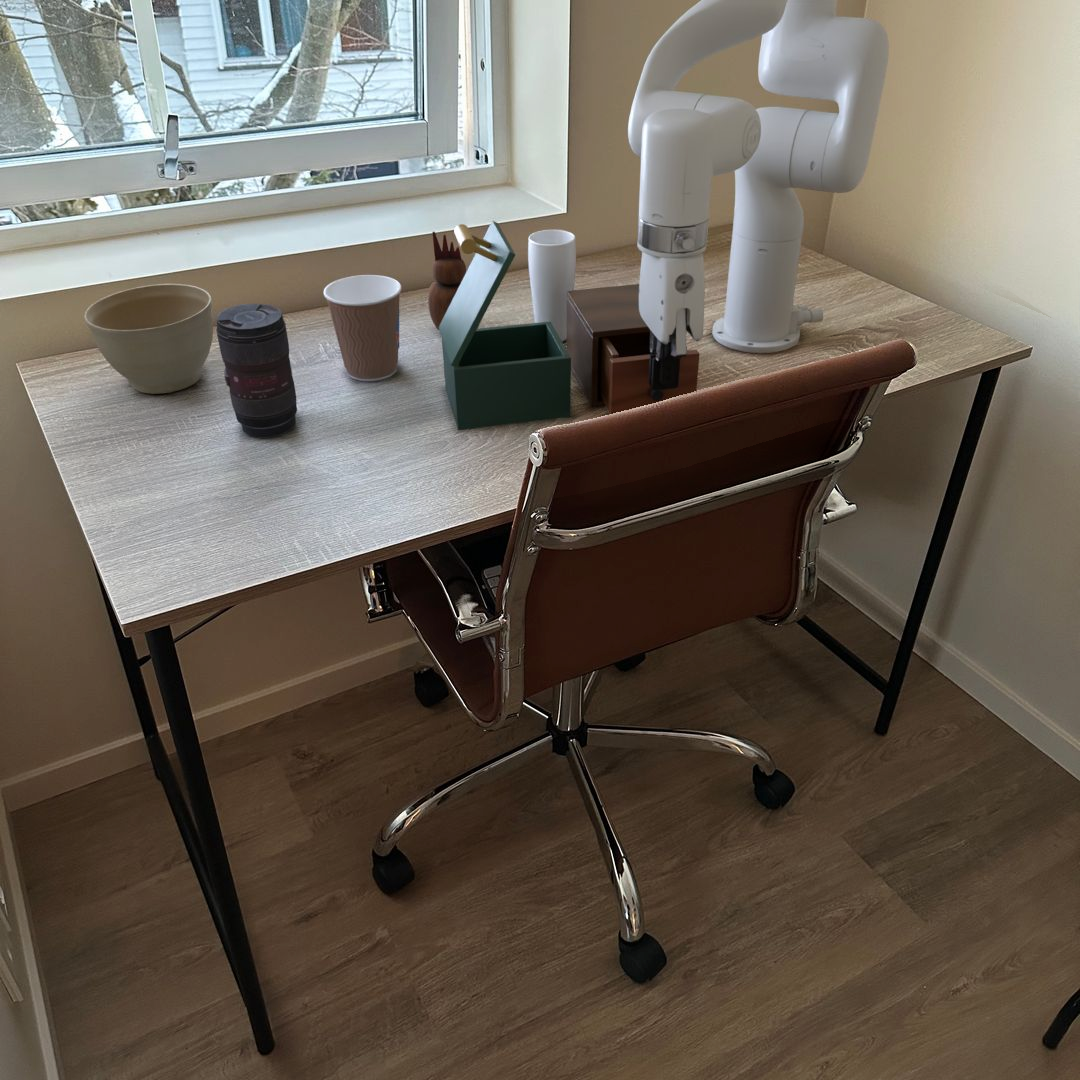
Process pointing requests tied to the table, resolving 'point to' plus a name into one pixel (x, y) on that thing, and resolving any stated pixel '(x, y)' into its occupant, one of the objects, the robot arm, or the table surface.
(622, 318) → the cabinet
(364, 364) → the coffee cup
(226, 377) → the camera lens
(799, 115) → the robot arm
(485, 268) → the lid
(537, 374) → the chest
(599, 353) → the drawer
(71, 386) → the table surface
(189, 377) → the planter bowl
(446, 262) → the wooden figurine
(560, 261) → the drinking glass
